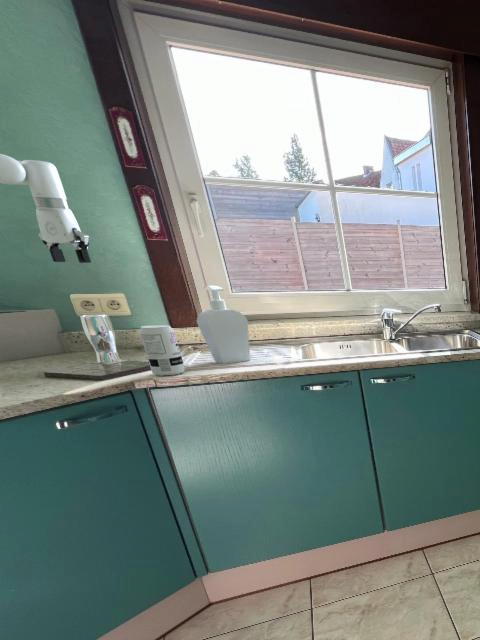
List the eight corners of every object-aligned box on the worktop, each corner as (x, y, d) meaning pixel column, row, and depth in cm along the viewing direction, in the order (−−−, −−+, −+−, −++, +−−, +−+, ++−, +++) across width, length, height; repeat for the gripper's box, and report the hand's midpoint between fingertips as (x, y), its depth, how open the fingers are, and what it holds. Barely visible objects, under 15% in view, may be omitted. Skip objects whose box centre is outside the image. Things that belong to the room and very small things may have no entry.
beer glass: (96, 364, 160) (79, 317, 154) (94, 361, 164) (78, 315, 158) (125, 361, 164) (109, 315, 159) (122, 358, 169) (107, 313, 163)
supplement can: (149, 373, 157) (133, 326, 151) (180, 369, 163) (167, 323, 157) (157, 377, 152) (142, 328, 147) (190, 373, 159) (176, 326, 153)
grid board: (45, 376, 150) (43, 371, 149) (113, 363, 168) (111, 359, 168) (102, 380, 148) (101, 375, 147) (165, 366, 166) (164, 362, 166)
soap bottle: (242, 356, 185) (225, 284, 175) (257, 359, 180) (239, 286, 171) (205, 361, 175) (184, 285, 165) (219, 365, 170) (198, 287, 161)
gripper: (15, 203, 154) (36, 261, 160) (62, 204, 152) (83, 263, 158) (43, 205, 161) (62, 261, 167) (89, 206, 159) (107, 263, 165)
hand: (72, 262), depth 163 cm, fingers open, 9 cm apart
